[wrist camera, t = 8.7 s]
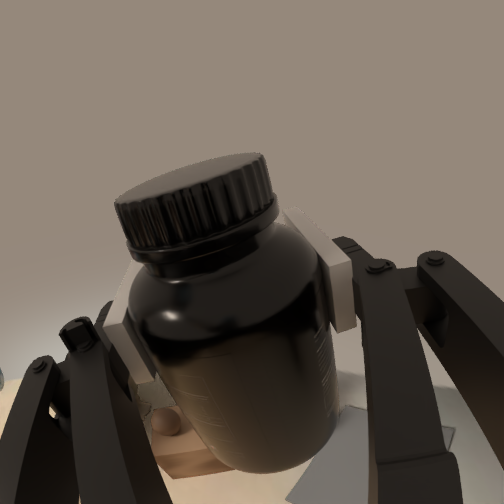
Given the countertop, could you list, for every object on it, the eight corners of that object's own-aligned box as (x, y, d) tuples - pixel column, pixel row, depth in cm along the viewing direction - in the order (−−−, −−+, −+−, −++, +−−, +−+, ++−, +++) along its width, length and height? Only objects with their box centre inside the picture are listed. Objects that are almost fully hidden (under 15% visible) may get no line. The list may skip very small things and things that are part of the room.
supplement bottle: (267, 356, 19) (211, 151, 14) (366, 401, 14) (347, 137, 9) (178, 428, 15) (65, 210, 10) (271, 506, 10) (133, 225, 5)
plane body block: (172, 479, 26) (135, 439, 22) (172, 435, 31) (141, 390, 28) (309, 450, 26) (300, 404, 23) (294, 407, 32) (282, 357, 29)
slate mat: (285, 500, 22) (285, 498, 22) (345, 407, 30) (345, 405, 30) (410, 541, 15) (411, 540, 14) (453, 430, 23) (453, 428, 23)
